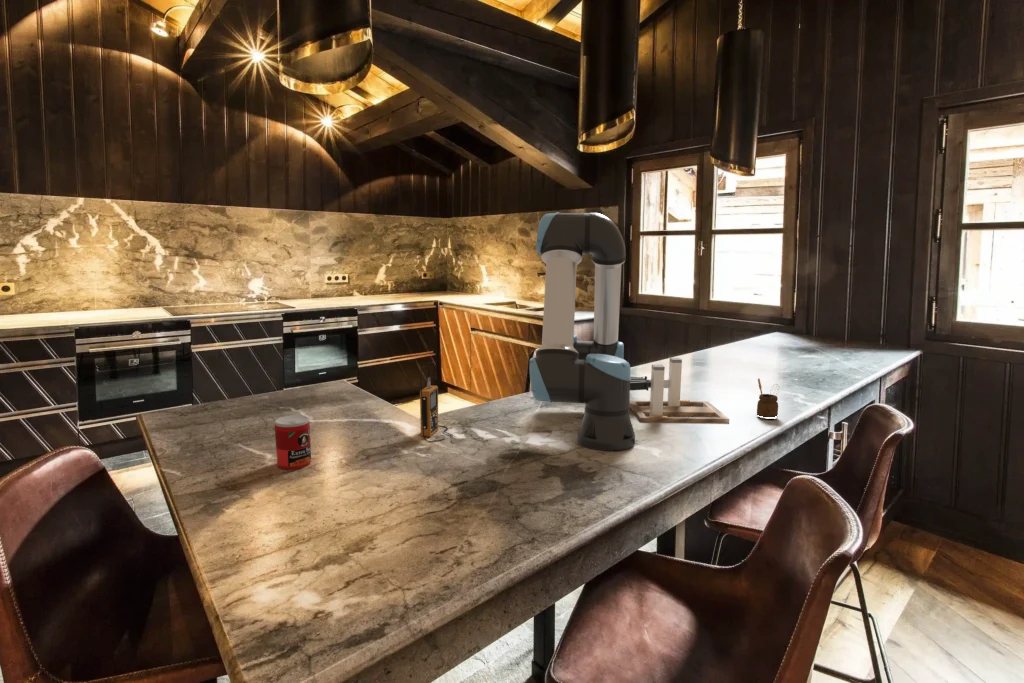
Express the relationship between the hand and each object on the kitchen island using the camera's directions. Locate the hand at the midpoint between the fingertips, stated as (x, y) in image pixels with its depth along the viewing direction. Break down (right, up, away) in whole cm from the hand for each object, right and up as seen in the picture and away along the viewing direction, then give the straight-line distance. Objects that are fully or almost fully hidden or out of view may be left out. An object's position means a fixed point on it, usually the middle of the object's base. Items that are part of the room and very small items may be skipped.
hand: (668, 383), depth 184 cm
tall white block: (+2, -8, 0) cm, 8 cm away
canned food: (-102, -16, -47) cm, 114 cm away
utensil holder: (+29, -10, -6) cm, 31 cm away
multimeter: (-70, -13, -24) cm, 75 cm away
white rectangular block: (-7, -10, -12) cm, 17 cm away
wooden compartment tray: (+1, -10, -6) cm, 11 cm away
